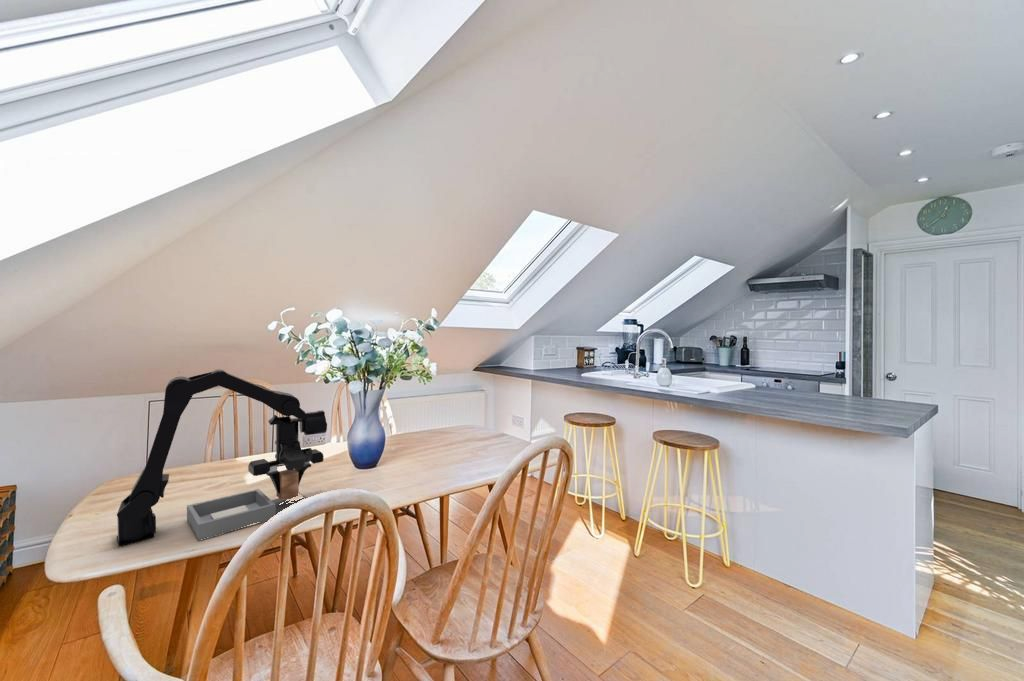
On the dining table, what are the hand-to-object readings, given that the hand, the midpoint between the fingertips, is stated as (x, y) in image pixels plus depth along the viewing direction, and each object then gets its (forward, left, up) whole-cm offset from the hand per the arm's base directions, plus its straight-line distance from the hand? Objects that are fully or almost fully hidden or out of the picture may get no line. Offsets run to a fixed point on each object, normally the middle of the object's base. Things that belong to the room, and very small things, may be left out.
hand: (287, 490), depth 124 cm
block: (0, 0, -2) cm, 2 cm away
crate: (-14, 0, -4) cm, 14 cm away
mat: (0, 0, -4) cm, 4 cm away
